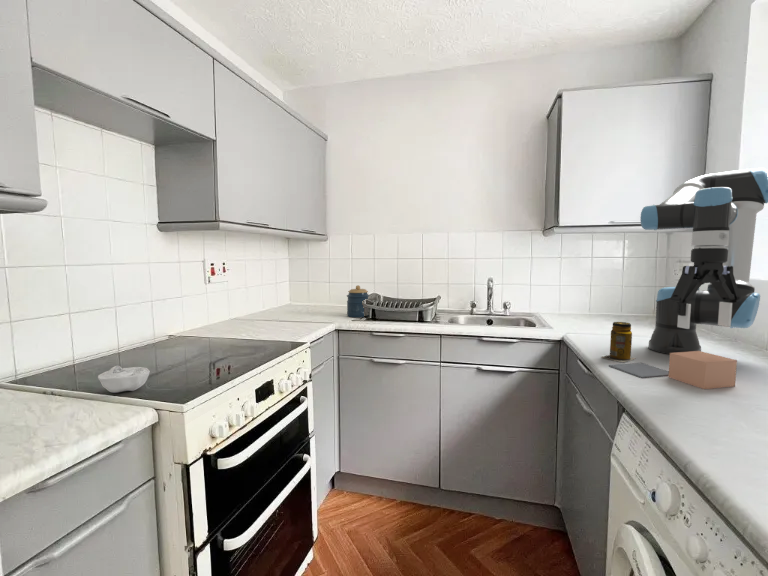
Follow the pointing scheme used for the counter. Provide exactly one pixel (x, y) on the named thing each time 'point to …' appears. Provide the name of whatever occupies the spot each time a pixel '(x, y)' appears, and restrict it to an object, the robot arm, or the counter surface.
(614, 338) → the condiment
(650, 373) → the mat
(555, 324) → the counter surface
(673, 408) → the counter surface
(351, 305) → the canister
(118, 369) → the cell model
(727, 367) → the salmon tan box
